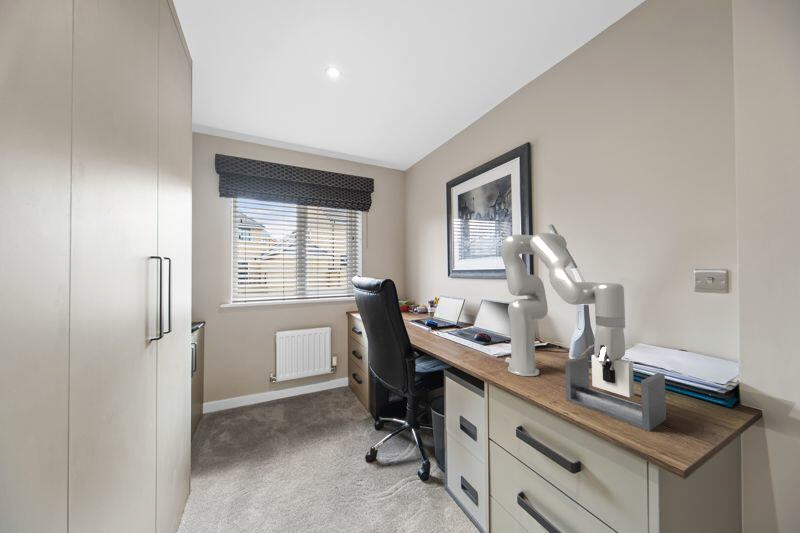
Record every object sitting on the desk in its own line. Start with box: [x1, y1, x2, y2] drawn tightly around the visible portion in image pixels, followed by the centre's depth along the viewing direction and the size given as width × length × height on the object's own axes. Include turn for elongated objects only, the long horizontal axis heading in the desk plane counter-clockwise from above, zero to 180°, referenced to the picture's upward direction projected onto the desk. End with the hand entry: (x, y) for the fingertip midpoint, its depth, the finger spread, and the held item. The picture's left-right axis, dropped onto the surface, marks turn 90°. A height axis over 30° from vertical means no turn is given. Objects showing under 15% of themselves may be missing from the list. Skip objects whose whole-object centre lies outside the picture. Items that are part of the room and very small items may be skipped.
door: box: [591, 354, 635, 398], centre depth 88 cm, size 10×3×10 cm, turn 30°
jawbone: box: [579, 343, 595, 375], centre depth 121 cm, size 14×8×15 cm
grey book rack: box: [564, 355, 667, 432], centre depth 88 cm, size 22×12×13 cm, turn 30°
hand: (611, 380), depth 88 cm, fingers closed on door, 3 cm apart
